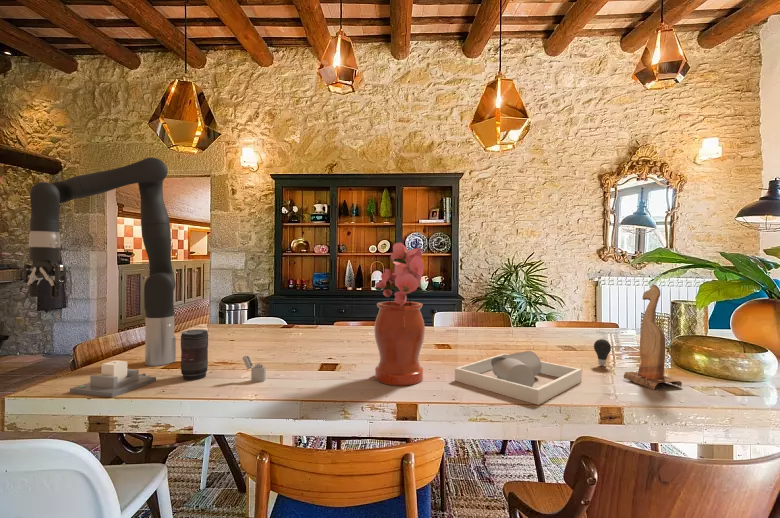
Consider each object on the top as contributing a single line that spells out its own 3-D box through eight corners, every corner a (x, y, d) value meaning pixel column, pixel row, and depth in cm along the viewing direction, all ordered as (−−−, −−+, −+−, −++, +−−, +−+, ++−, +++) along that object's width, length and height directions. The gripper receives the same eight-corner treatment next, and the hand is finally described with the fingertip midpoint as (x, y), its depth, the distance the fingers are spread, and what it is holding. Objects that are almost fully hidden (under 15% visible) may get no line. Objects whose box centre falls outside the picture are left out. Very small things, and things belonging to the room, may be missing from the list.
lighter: (265, 380, 124) (266, 355, 124) (263, 381, 122) (264, 356, 122) (244, 379, 125) (244, 354, 125) (241, 381, 123) (242, 355, 123)
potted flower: (425, 366, 142) (426, 243, 142) (437, 389, 116) (438, 240, 116) (373, 366, 141) (374, 242, 141) (374, 390, 115) (375, 239, 115)
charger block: (101, 384, 115) (101, 363, 115) (115, 379, 119) (115, 360, 119) (113, 385, 114) (113, 365, 114) (127, 380, 118) (127, 361, 118)
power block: (125, 374, 129) (125, 362, 129) (163, 378, 125) (163, 365, 125) (69, 392, 111) (69, 378, 111) (112, 397, 108) (112, 382, 108)
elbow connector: (479, 369, 134) (500, 388, 114) (486, 339, 134) (508, 353, 114) (527, 380, 135) (556, 400, 115) (534, 350, 136) (564, 366, 116)
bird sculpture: (647, 376, 131) (648, 283, 131) (683, 387, 120) (684, 285, 120) (622, 379, 127) (623, 283, 128) (656, 391, 116) (657, 285, 116)
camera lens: (176, 381, 122) (176, 334, 122) (185, 374, 130) (186, 329, 130) (203, 380, 123) (204, 333, 123) (211, 373, 131) (211, 329, 131)
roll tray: (503, 364, 146) (503, 353, 146) (581, 381, 125) (581, 369, 125) (454, 380, 125) (454, 368, 125) (538, 405, 105) (538, 390, 105)
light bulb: (590, 364, 146) (590, 337, 146) (604, 364, 147) (604, 337, 147) (599, 368, 141) (599, 340, 141) (614, 368, 141) (614, 340, 141)
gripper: (14, 245, 121) (13, 297, 121) (49, 245, 118) (49, 299, 118) (40, 246, 128) (40, 295, 128) (74, 246, 125) (74, 296, 125)
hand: (44, 297), depth 123 cm, fingers open, 8 cm apart
